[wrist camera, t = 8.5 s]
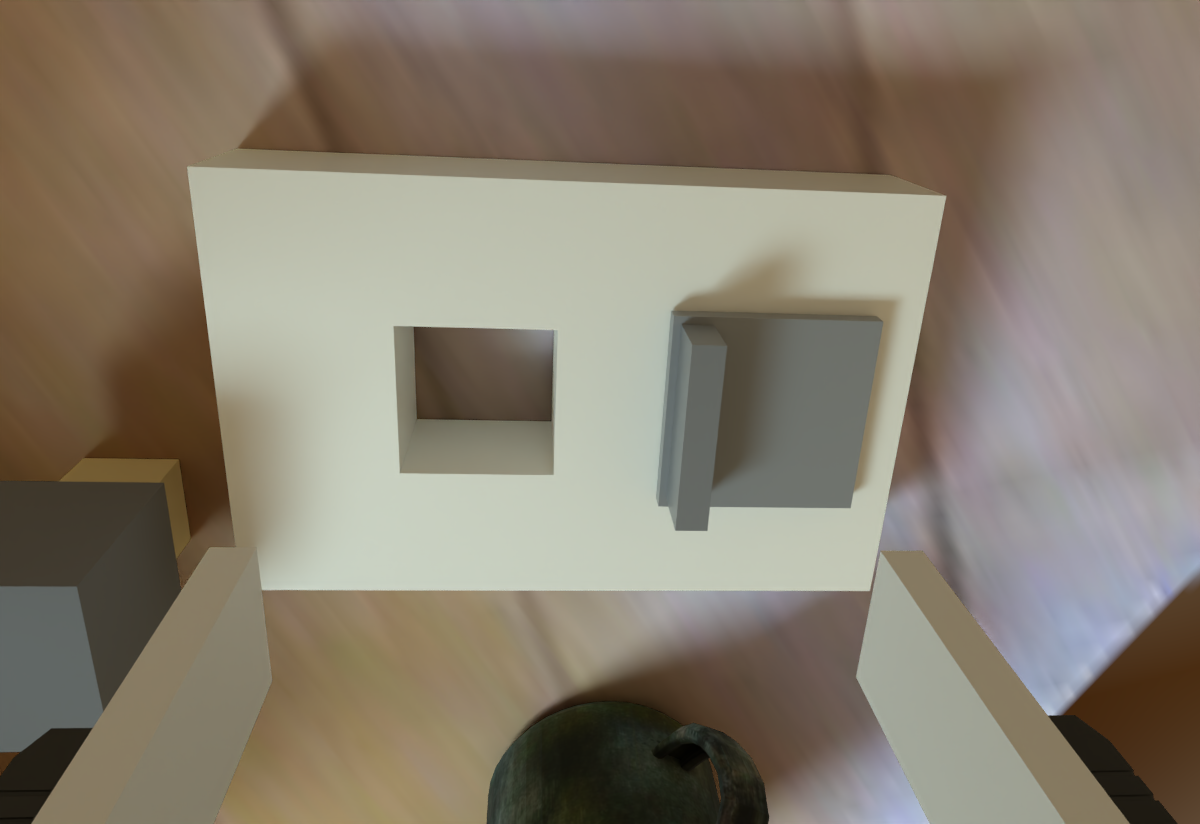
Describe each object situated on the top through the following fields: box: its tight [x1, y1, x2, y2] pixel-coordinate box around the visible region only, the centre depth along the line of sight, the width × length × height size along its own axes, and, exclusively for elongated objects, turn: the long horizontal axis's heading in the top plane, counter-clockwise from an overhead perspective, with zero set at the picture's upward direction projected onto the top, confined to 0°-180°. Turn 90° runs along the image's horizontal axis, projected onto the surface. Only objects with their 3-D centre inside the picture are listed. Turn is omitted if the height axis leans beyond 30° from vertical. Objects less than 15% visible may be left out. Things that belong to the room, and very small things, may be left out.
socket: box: [187, 149, 946, 591], centre depth 30 cm, size 22×14×4 cm, turn 87°
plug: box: [0, 458, 191, 752], centre depth 29 cm, size 6×6×10 cm
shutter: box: [656, 311, 883, 531], centre depth 28 cm, size 6×6×3 cm
